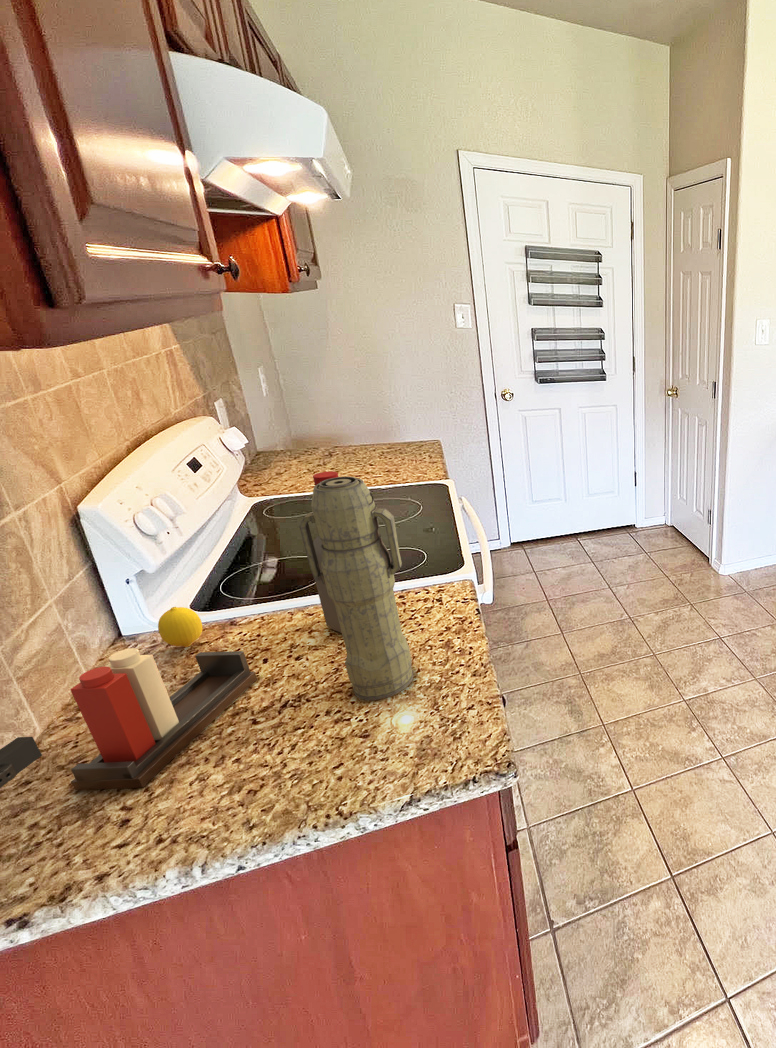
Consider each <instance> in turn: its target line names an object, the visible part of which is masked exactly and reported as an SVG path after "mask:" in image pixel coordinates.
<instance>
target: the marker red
mask: <svg viewBox="0 0 776 1048" xmlns="http://www.w3.org/2000/svg"><path fill="white" fill-rule="evenodd" d="M78 680H79V683H78V684H76V685H74V686H73V687H72V688H70V692H71V694H72V696H73V699H74V700H75V703H76V705H77V707H78V709H79V711H80V714H81V715H82V718H83V720H84V722H85V725H86V726H87V728H88V730H89V733H90V735H91V737H92V739H93V741H94V743H95V745H96V747H97V749H98V752H99V755H100V754H101V756H102V758H103V760H104V762H105V763H107V762H131V761H134V763H135V762H136V761H137V760H138V759H139V758H140V757H141V756H142V755H144V754H145V753H146V752H147V751H148V750H149V749H150V748H151V747H153V746H154V745H155V744H156V743H155V741H154V738H153V736H152V734H151V731H150V729H149V726H148V724H147V722H146V719H145V717H144V715H143V712H142V710H141V708H140V705H139V703H138V701H137V698H136V696H135V693H134V691H133V689H132V686H131V684H130V682H129V679H128V677H127V675H126V673H120V674H113V672H112V670H111V668H110V667H104V666H99V667H95V668H92V669H89V670H87V671H85V672H83V673H82V674H80V676H79V677H78Z"/></svg>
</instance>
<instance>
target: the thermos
mask: <svg viewBox="0 0 776 1048" xmlns="http://www.w3.org/2000/svg"><path fill="white" fill-rule="evenodd" d="M310 504H311V505H310V507H311V510H312V512H307V513H306V514H305V516H304V517H303V518H302V520H301V522H300V524H299V526H298V527H299V531H300V535H301V538H302V542H303V547H304V551H305V554H306V558H307V562H308V565H309V569H310V572H311V574H312V577H313V579H314V582H315V581H321V580H322V583H323V584H326V588H327V592H328V595H329V597H330V599H331V600H332V601H333V602H334V604H335V608H336V612H337V616H338V620H339V624H340V628H341V632H342V633H341V635H342V639H343V644H344V647H345V651H346V658H345V662H344V665H345V669H346V672H347V676H348V679H349V682H350V683H351V685H352V692H353V694H354V696H355V697H356V698H357V699H360V700H363V701H364V700H365V701H377V700H382V699H386V698H389V697H391V696H394V695H397V694H399V693H400V692H402V691H403V690H404V689H406V688H407V687H408V686H409V685H410V684H411V683H412V681H413V679H414V671H413V668H412V662H413V660H412V655H411V649H410V645H409V643H408V641H407V637H406V636H405V635H404V633H403V629H402V626H401V625H402V624H401V620H400V615H399V611H398V605H397V601H396V596H395V591H394V587H395V584H396V583H395V582H396V579H395V574H397V572H398V571H399V570H400V569H401V568H402V566H403V561H402V556H401V553H400V546H399V540H398V534H397V533H398V532H397V528H396V527H397V526H396V520H395V515H394V514H393V513H391V512H390V511H389V510H388V509H387V508H385V507H378V506H377V505H376V503H375V499H374V496H373V494H372V492H371V490H370V489H369V488H368V486H367V484H366V483H365V481H364V480H363V479H361V478H358V477H354V476H338V477H336V478H330V479H327V480H324V481H322V482H320V483H319V484H317V485H315V484H314V486H313V490H312V496H311V503H310ZM378 517H379V518H380V519H381V520H382V521H383V522H384V526H385V531H386V536H387V541H388V546H389V549H388V548H387V546H386V545H385V543H384V541H383V539H382V534H380V532H379V529H380V523H379V519H378ZM309 522H311V524H315V527H316V531H317V536H318V535H319V537H320V539H321V540H322V545H321V547H322V551H323V554H322V560H321V568H322V572H321V573H320V567H319V564H318V560H317V556H316V552H315V548H314V544H313V541H314V539H313V537H312V532H311V529H310V524H309ZM389 550H390V551H389Z"/></svg>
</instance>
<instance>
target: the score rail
mask: <svg viewBox="0 0 776 1048" xmlns="http://www.w3.org/2000/svg"><path fill="white" fill-rule="evenodd" d="M195 659H196V662H197V665H198V667H199V670H200V672H198V673H197V674H196V675H195V676H194V677H193V678H191V679H190V680H188V681H187V682H186V683H185V684H184V685H182V687H180V688H179V689H178V690H177V691H175V692H174V693H173V694H172V695H170V696H169V698H170V700H171V703H172V706H173V708H174V711H175V713H176V716H177V718H178V721H179V723H178V724H177V725H176V726H175V727H174V728H173V729H172V730H171V731H169V732H168V733H167V734H166V735H165V736H164V737H163V738H162V739H160V740H154V741H155V743H156V744H155V745H154V746H153V747H151V748H150V749H149V750H148V751H147V752H146V753H145V754H144V755H142V756H141V757H140V758H139V759H138V760H137V761H136V762H135V763H134V761H131V762H107V763H105V762H104V760H103V758H102V756H101V754H100V753H99V754H98V755H97V756H96V757H95V758H94V759H92V760H91V761H90V762H85V763H77V764H76V765H74V766H73V767H72V768H71V769H70V771H71V772H72V775H73V776H74V778H73V780H71V781H70V783H71V786H72V787H73V789H74V791H95V790H96V791H97V790H98V791H99V790H117V789H120V790H121V789H140V788H144V787H145V786H146V785H148V783H149V782H150V781H152V779H153V778H154V777H156V775H158V774H159V773H160V772H161V771H162V770H163V769H164V768H165V767H166V766H167V765H168V764H169V763H170V762H171V761H172V760H173V759H174V758H176V757H177V756H178V755H179V754H180V753H181V752H182V751H183V750H184V749H186V747H187V746H188V745H189V744H191V742H192V741H193V740H195V738H196V737H197V736H199V735H200V734H201V733H202V732H203V731H204V730H205V729H206V728H207V727H208V726H209V725H210V724H212V723H213V722H214V720H216V719H217V718H218V717H219V716H220V715H221V714H222V713H223V712H224V711H225V710H227V708H229V706H230V705H231V704H232V703H233V702H234V701H236V700H237V699H238V698H239V697H240V696H241V695H242V694H243V693H244V692H245V691H246V690H247V689H249V687H250V686H251V685H252V684H254V683H255V682H256V681H257V679H258V676H257V675H256V672H255V671H251V670H250V666H249V664H248V661H247V657H246V654H245V651H244V650H238V651H237V650H236V651H234V650H233V651H232V650H231V651H200V652H199V653H196V655H195Z"/></svg>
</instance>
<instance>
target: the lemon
mask: <svg viewBox="0 0 776 1048" xmlns="http://www.w3.org/2000/svg"><path fill="white" fill-rule="evenodd" d="M157 628H158V634H159V636H160V638H161V639H162V641H163V642H164V643H166V644H168V645H170V646H174V647H183V648H184V647H185V648H188V647H190V646H191V645H192V644H193V643H194V642H196V641H197V640H198V639H199V638H200V637H201V635H202V632H203V622H202V620H201V617H200V616H199V614H197V612H195V610H193V609H191V608H188V607H185V606H184V607H183V606H180V607H177V606H173V607H171V608H170V609H169V610H167V611H165V612H164V613H163V614H162V615H161V616H160V617H159V620H158V622H157Z"/></svg>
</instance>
